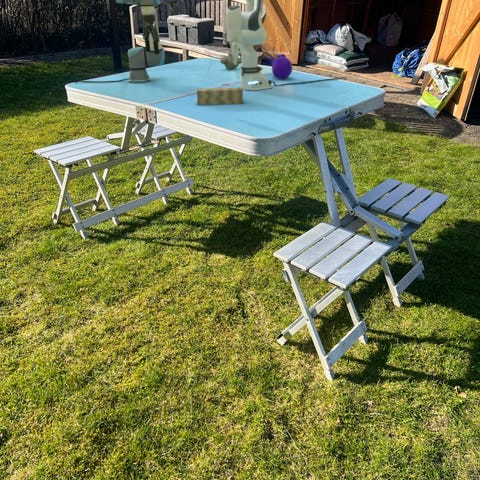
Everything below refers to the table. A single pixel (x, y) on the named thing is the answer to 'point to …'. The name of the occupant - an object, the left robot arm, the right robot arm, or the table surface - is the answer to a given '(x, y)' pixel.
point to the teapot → (230, 61)
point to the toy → (280, 66)
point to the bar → (220, 96)
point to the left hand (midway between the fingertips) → (152, 53)
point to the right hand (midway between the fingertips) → (235, 63)
